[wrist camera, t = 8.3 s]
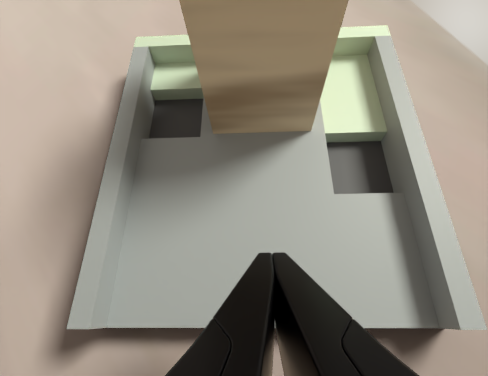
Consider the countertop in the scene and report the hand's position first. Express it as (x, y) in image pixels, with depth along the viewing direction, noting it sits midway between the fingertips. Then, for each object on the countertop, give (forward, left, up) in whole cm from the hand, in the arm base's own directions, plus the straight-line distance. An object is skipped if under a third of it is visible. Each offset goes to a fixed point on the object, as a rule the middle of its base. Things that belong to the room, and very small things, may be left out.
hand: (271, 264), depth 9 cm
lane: (+6, -3, -6) cm, 9 cm away
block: (+10, -6, -5) cm, 13 cm away
